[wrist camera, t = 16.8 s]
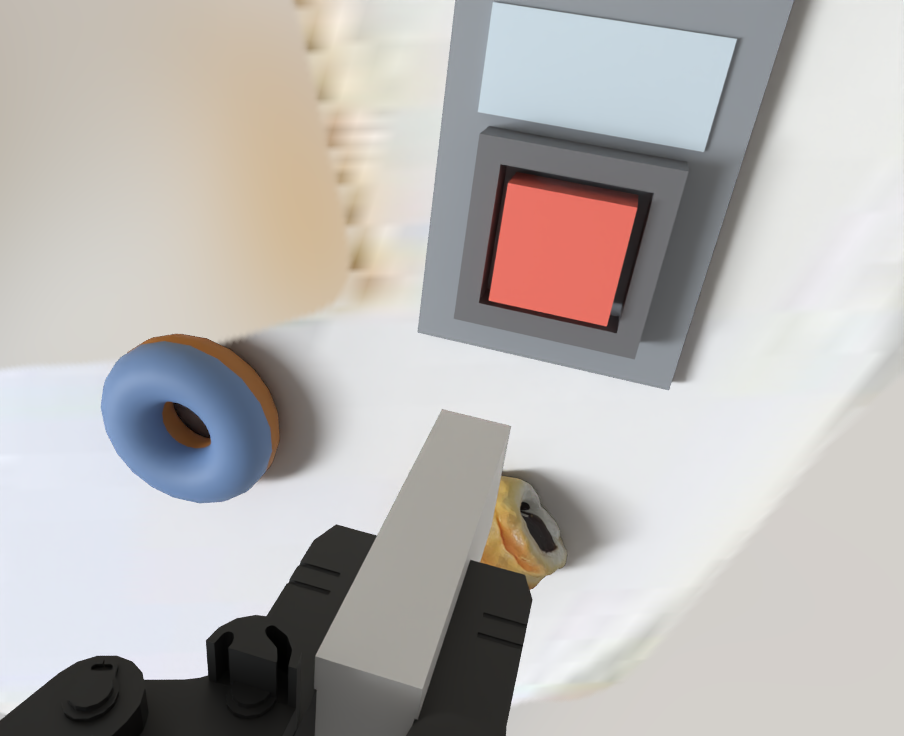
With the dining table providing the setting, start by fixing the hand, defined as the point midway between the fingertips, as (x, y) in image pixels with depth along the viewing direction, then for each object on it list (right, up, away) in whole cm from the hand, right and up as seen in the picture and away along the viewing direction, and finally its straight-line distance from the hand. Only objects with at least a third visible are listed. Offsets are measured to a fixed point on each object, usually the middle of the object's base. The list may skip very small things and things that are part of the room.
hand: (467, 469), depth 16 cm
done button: (+4, +8, +15) cm, 17 cm away
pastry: (+2, -7, +25) cm, 26 cm away
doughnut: (-14, 0, +26) cm, 30 cm away
